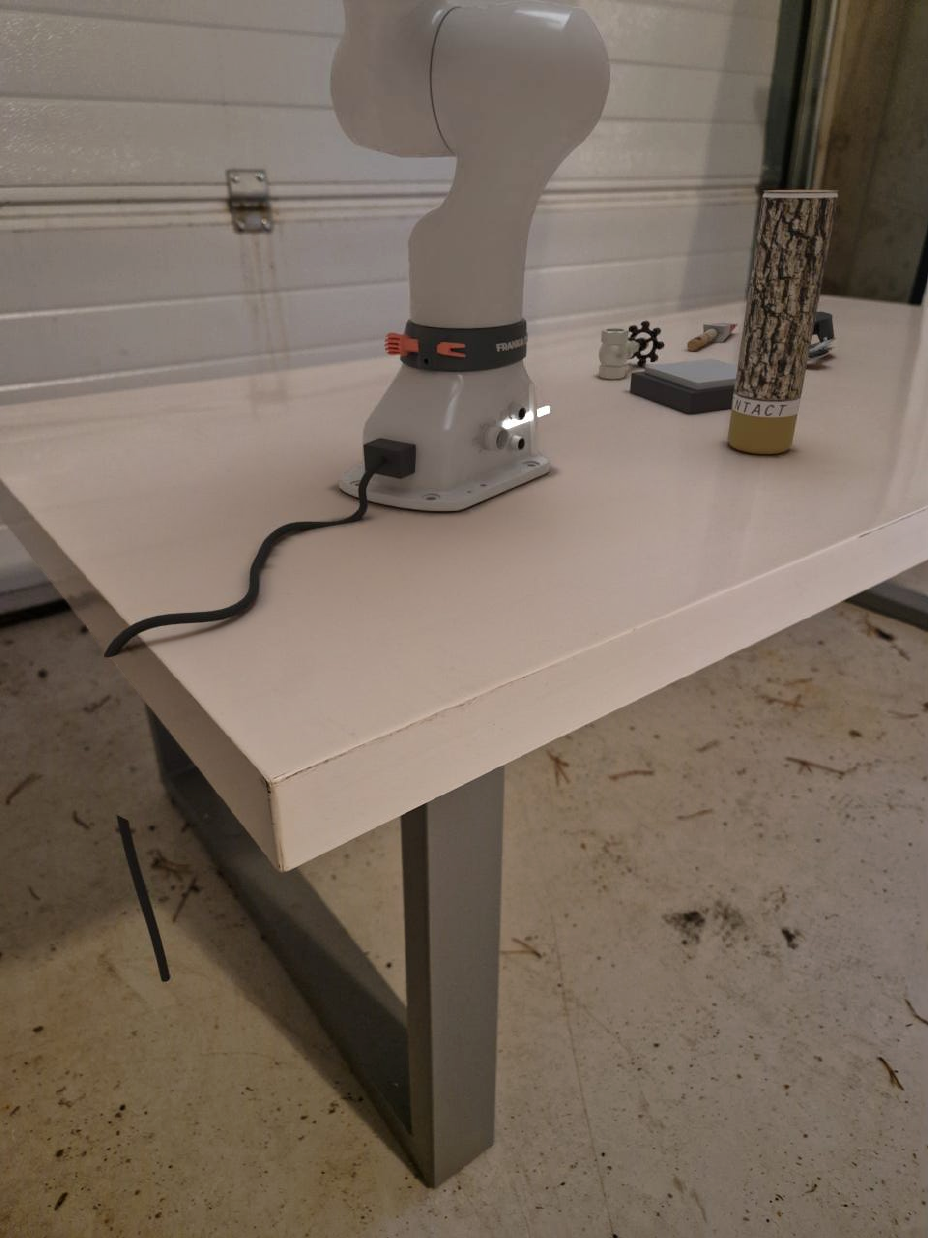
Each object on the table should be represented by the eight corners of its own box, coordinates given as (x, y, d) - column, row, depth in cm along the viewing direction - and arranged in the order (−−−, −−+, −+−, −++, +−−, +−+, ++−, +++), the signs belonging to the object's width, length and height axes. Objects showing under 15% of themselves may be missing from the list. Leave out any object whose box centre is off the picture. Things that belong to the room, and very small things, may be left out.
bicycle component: (830, 355, 122) (847, 342, 133) (819, 306, 120) (838, 297, 132) (749, 379, 129) (772, 365, 141) (738, 333, 128) (762, 322, 139)
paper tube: (741, 434, 95) (778, 189, 83) (800, 445, 91) (848, 189, 79) (715, 448, 90) (751, 191, 78) (777, 460, 87) (824, 191, 75)
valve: (625, 382, 118) (662, 367, 127) (629, 334, 115) (667, 322, 123) (584, 376, 122) (623, 362, 130) (587, 329, 119) (627, 318, 127)
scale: (689, 414, 103) (692, 385, 101) (629, 391, 113) (631, 365, 112) (770, 402, 108) (775, 375, 106) (706, 382, 118) (709, 356, 116)
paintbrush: (742, 315, 150) (703, 338, 135) (740, 331, 151) (701, 355, 137) (721, 313, 151) (681, 335, 137) (719, 329, 153) (679, 352, 139)
